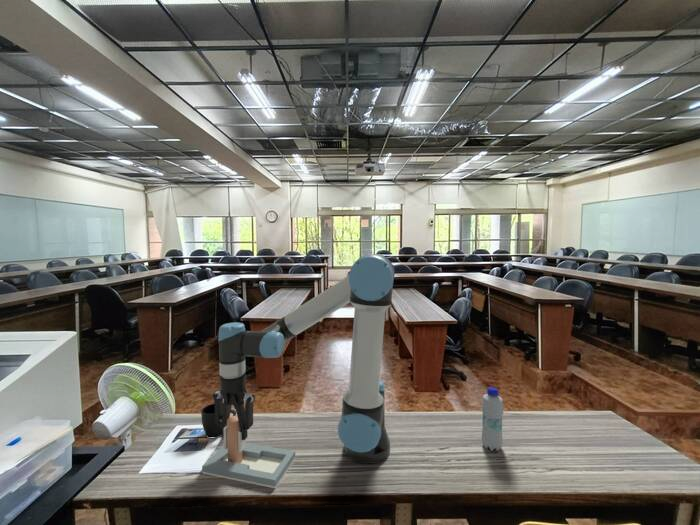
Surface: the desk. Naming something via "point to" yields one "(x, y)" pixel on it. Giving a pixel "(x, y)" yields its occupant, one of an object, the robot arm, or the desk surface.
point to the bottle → (492, 419)
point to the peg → (233, 440)
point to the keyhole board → (252, 465)
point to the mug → (211, 421)
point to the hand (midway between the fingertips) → (234, 447)
